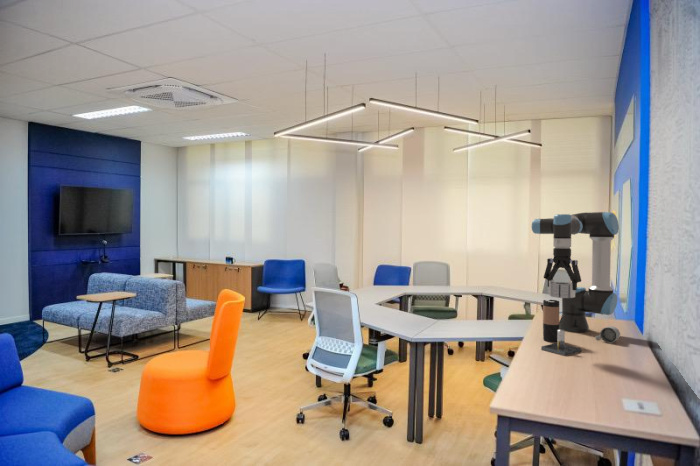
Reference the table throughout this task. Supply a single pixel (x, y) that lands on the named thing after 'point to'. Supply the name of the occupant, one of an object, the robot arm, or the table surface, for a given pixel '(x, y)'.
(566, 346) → the shaft block
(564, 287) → the ring
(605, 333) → the ceramic mug
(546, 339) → the travel mug
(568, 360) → the table surface
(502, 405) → the table surface
